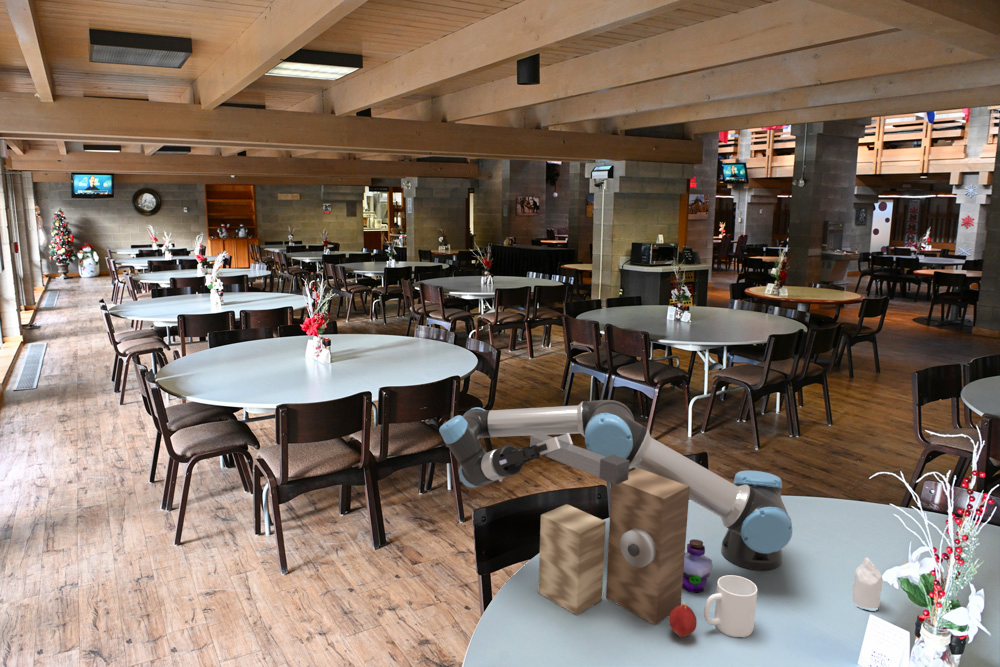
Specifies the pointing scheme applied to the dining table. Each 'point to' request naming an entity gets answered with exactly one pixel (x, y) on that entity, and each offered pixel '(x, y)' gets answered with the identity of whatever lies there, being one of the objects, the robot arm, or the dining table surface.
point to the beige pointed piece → (867, 585)
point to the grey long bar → (587, 460)
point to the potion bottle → (696, 567)
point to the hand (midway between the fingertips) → (563, 440)
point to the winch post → (647, 544)
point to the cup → (733, 606)
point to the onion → (682, 620)
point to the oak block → (571, 558)
